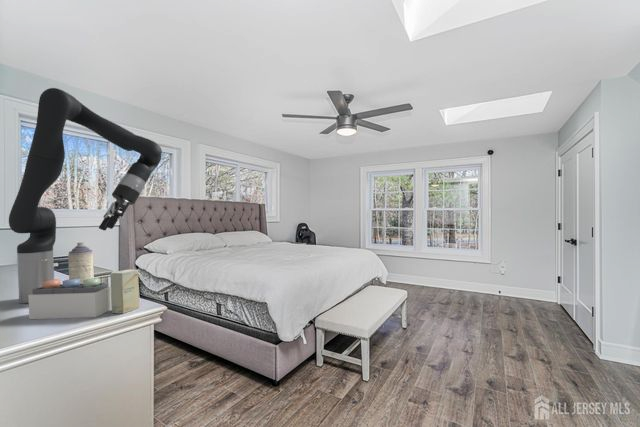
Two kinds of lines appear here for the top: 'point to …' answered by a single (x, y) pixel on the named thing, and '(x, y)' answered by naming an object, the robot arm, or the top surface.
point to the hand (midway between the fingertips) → (105, 228)
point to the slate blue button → (71, 283)
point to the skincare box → (124, 291)
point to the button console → (69, 302)
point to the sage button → (91, 282)
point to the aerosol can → (81, 263)
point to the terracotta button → (51, 284)
